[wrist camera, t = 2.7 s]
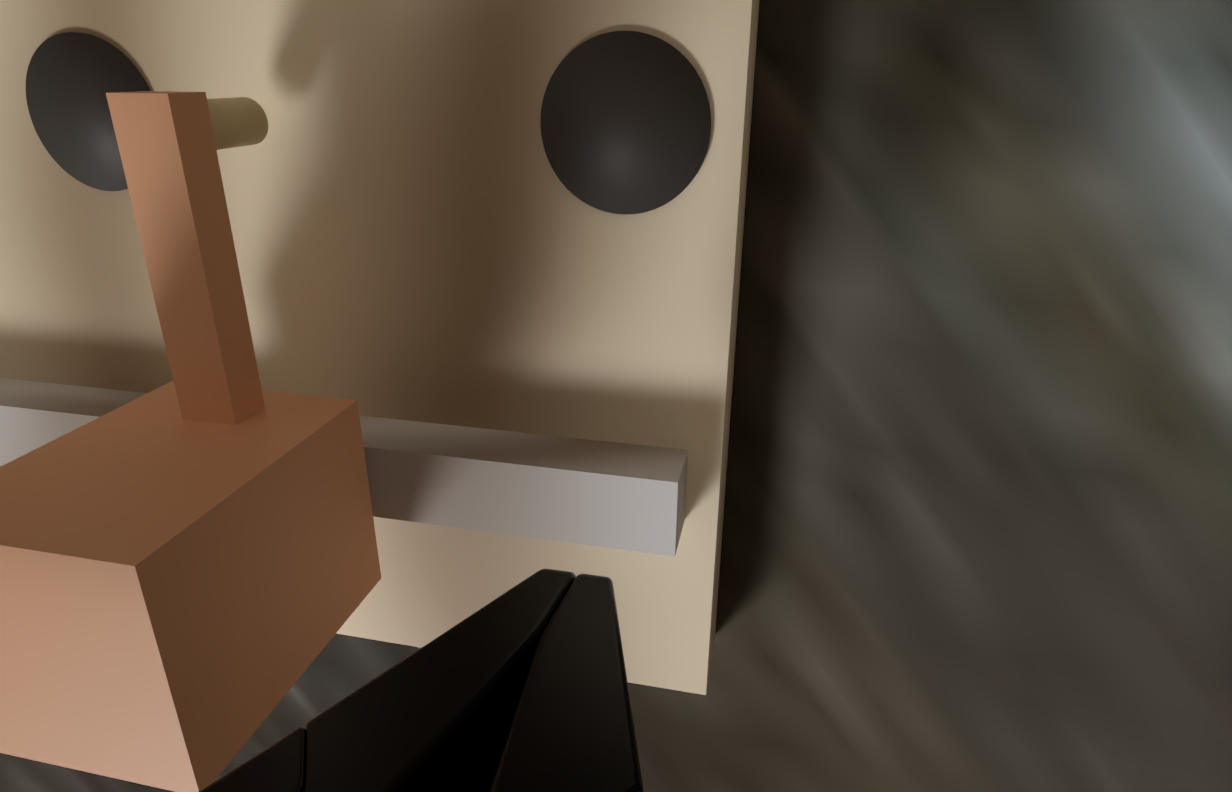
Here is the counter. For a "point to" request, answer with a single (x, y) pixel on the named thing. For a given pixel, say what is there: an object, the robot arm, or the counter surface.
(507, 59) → the hole plate
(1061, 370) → the counter surface
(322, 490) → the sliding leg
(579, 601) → the robot arm
